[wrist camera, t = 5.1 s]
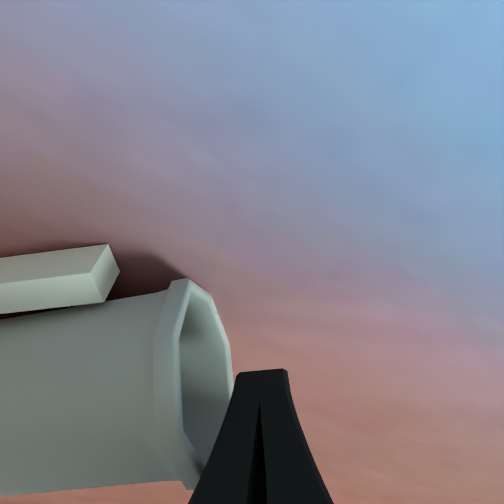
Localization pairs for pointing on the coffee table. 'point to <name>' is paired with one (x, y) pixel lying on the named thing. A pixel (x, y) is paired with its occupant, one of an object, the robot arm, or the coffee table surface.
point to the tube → (113, 392)
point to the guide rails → (56, 278)
